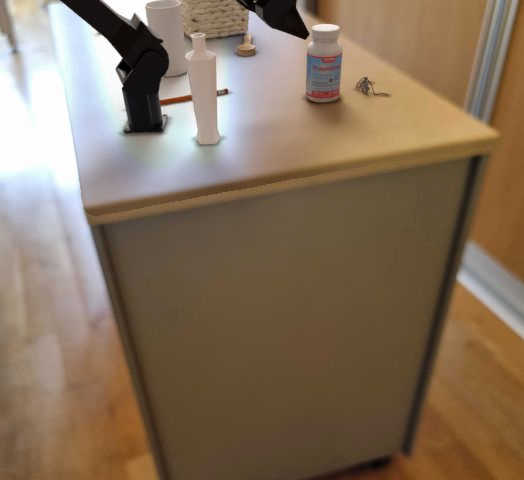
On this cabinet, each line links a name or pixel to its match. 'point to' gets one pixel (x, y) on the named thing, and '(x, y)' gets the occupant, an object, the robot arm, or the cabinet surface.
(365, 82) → the pendant
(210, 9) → the basket
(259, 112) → the cabinet surface
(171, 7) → the mug
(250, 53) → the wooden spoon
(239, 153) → the cabinet surface
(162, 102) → the pencil
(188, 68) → the perfume bottle
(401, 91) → the cabinet surface
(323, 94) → the pill bottle
